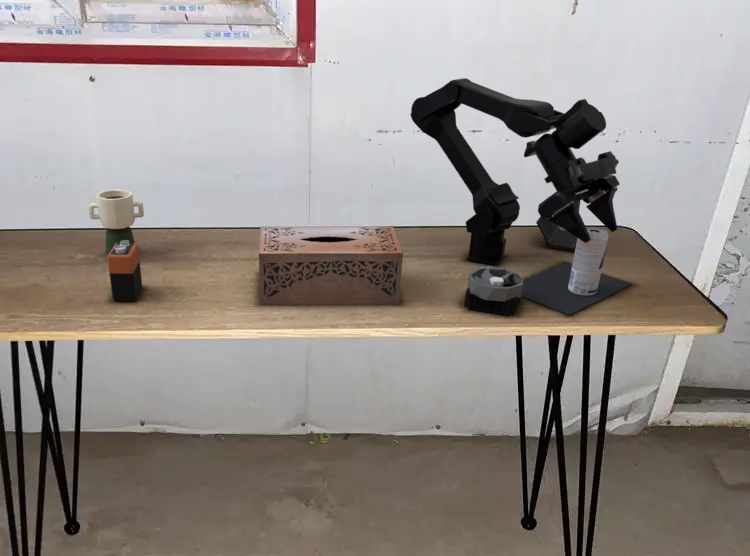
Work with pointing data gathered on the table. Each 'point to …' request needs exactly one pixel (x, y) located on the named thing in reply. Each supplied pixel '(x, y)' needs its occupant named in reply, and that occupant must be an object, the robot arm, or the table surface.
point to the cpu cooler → (493, 290)
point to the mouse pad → (565, 289)
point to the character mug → (116, 215)
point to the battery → (125, 271)
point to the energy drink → (588, 263)
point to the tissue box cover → (329, 265)
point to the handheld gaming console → (557, 236)
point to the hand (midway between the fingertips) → (601, 235)
